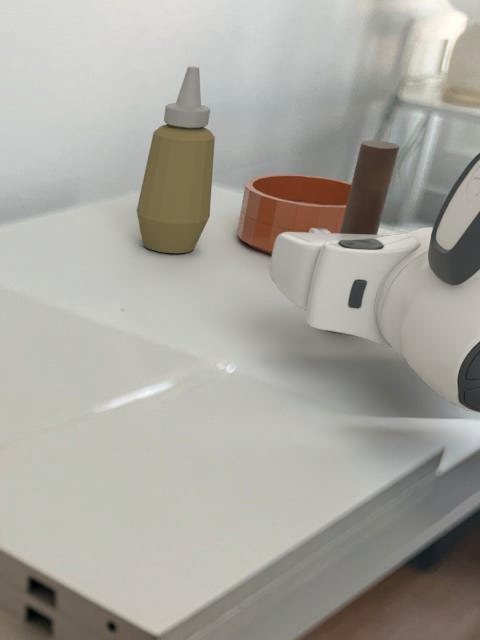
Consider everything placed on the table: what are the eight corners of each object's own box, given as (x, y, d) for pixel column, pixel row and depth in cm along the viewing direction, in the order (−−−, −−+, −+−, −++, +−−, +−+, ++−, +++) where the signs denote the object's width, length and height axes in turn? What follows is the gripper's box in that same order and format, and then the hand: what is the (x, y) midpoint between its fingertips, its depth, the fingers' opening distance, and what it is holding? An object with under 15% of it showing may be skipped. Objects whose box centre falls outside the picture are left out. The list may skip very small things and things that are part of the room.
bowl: (341, 228, 126) (354, 176, 123) (381, 266, 114) (396, 209, 111) (224, 224, 125) (233, 171, 122) (252, 261, 114) (263, 204, 110)
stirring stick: (346, 321, 99) (392, 140, 90) (357, 333, 97) (405, 149, 87) (314, 320, 99) (356, 139, 90) (324, 332, 97) (368, 147, 87)
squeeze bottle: (133, 234, 120) (154, 59, 109) (203, 240, 119) (231, 64, 109) (131, 254, 114) (153, 70, 103) (204, 261, 113) (234, 76, 102)
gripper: (569, 253, 79) (493, 205, 90) (308, 245, 78) (263, 197, 89) (540, 334, 83) (470, 278, 94) (290, 327, 81) (249, 272, 92)
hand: (367, 239), depth 91 cm, fingers open, 8 cm apart
